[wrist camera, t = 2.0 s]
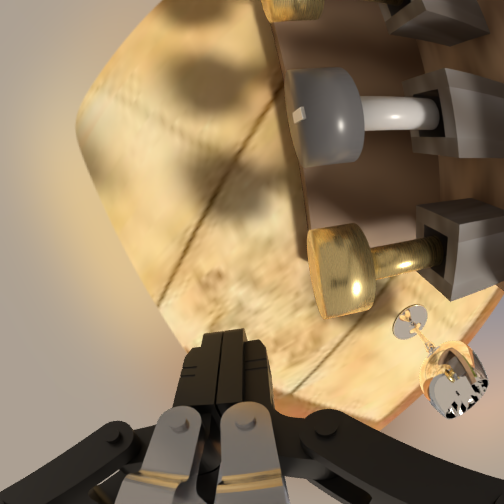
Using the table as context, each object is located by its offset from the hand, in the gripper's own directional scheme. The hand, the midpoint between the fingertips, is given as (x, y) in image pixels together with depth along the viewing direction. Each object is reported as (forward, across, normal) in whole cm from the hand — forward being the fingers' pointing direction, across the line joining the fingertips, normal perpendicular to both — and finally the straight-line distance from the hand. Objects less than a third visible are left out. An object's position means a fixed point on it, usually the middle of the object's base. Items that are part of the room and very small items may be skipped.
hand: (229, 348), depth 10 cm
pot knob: (+7, -8, -8) cm, 14 cm away
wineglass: (+13, -16, +12) cm, 24 cm away
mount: (+13, -13, -8) cm, 20 cm away
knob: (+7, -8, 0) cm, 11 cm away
